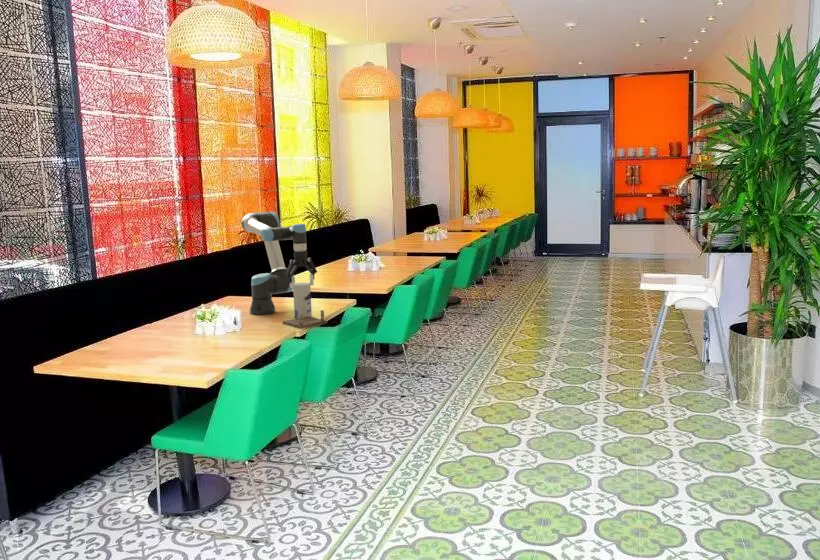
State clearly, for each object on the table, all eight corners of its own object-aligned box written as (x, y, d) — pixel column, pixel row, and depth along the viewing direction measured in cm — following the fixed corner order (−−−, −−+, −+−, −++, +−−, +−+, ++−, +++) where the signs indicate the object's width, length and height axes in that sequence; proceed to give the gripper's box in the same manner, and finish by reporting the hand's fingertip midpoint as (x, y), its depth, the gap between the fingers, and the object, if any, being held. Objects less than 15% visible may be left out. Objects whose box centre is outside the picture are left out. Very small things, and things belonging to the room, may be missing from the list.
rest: (282, 323, 414) (282, 310, 413) (309, 318, 425) (309, 306, 424) (299, 328, 400) (299, 315, 399) (327, 323, 412) (326, 310, 411)
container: (310, 318, 426) (308, 284, 422) (293, 319, 426) (291, 285, 423) (312, 315, 435) (311, 282, 432) (296, 315, 436) (294, 282, 433)
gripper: (284, 253, 414) (286, 290, 417) (321, 249, 429) (323, 284, 433) (278, 252, 419) (280, 288, 422) (314, 248, 435) (316, 283, 438)
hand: (302, 286), depth 428 cm, fingers open, 13 cm apart
